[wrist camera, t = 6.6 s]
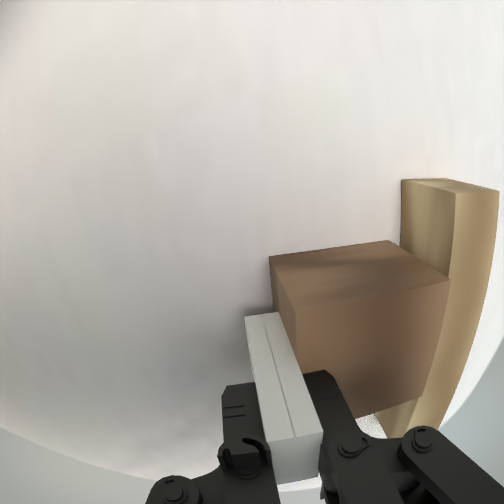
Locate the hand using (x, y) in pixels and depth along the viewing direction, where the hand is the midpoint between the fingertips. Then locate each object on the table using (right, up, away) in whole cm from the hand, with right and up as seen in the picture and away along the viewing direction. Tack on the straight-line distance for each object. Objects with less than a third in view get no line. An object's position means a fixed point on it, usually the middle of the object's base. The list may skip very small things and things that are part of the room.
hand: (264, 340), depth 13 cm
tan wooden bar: (+9, 0, +3) cm, 9 cm away
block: (+3, +1, +2) cm, 4 cm away
